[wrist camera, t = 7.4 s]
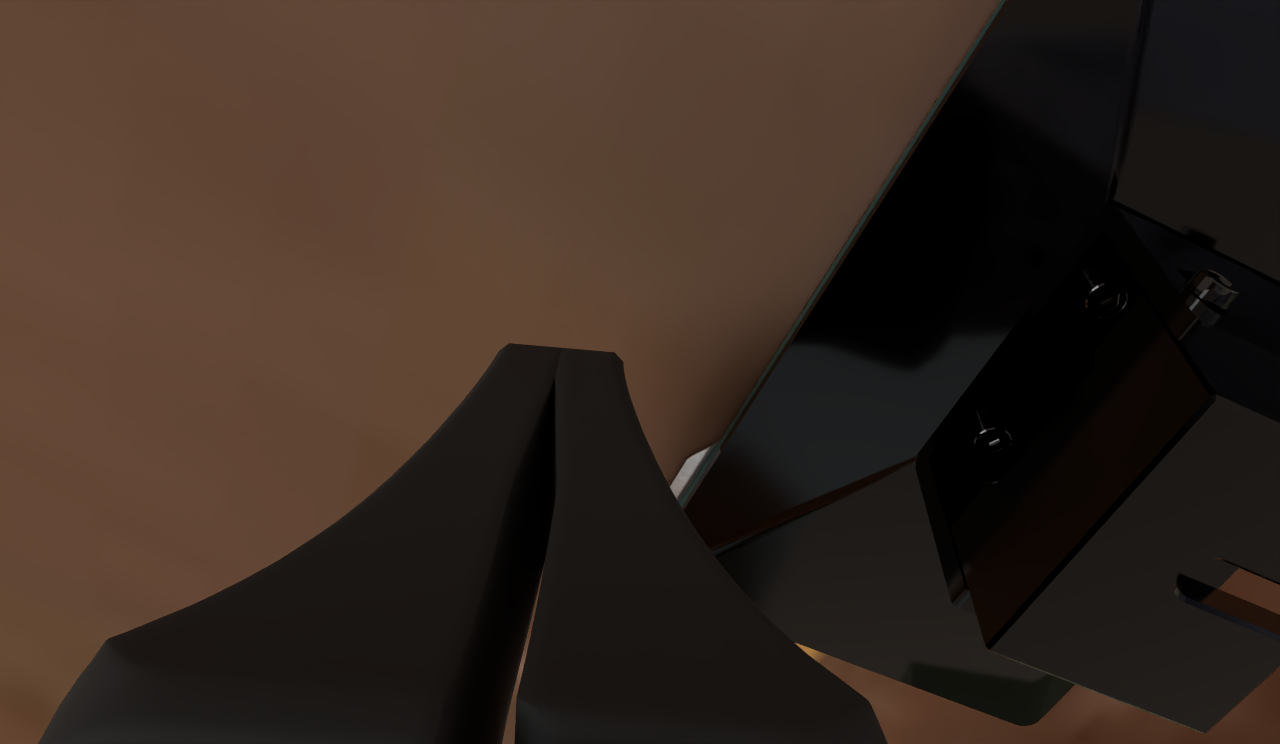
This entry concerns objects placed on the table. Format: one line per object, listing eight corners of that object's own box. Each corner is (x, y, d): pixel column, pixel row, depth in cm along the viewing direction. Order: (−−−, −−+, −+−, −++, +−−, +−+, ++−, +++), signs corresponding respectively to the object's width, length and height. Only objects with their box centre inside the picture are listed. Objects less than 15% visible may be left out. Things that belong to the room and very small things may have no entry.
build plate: (1023, 708, 20) (1106, 986, 16) (620, 556, 18) (601, 822, 14) (1685, 34, 13) (2097, 222, 9) (1150, -288, 12) (1376, -222, 8)
